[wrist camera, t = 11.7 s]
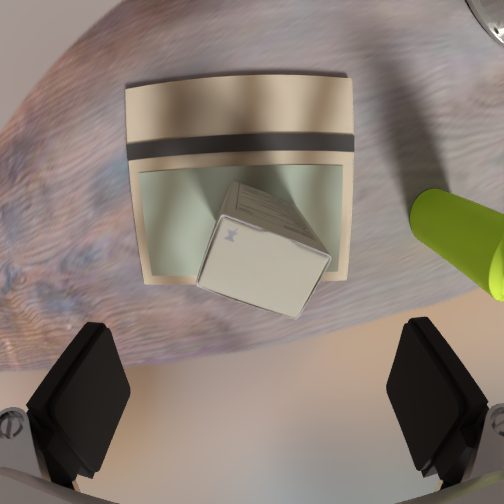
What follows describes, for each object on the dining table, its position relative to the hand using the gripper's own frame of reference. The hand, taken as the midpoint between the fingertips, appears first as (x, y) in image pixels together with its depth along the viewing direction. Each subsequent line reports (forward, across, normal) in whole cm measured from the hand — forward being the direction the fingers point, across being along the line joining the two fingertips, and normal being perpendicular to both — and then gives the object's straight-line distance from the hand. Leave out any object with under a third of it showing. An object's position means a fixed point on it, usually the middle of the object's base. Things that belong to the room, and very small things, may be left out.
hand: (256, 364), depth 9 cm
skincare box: (+20, 0, 0) cm, 20 cm away
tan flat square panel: (+20, +2, -2) cm, 21 cm away
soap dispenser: (+21, -18, +1) cm, 28 cm away
